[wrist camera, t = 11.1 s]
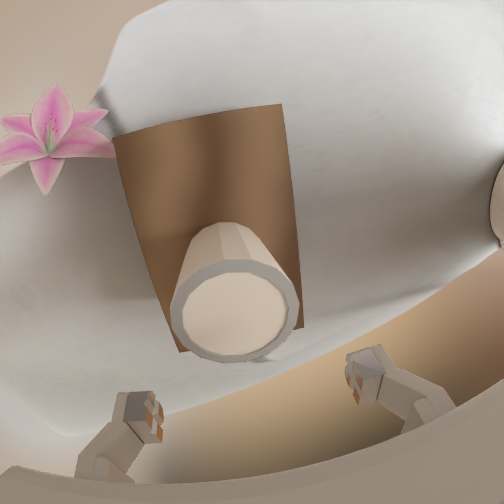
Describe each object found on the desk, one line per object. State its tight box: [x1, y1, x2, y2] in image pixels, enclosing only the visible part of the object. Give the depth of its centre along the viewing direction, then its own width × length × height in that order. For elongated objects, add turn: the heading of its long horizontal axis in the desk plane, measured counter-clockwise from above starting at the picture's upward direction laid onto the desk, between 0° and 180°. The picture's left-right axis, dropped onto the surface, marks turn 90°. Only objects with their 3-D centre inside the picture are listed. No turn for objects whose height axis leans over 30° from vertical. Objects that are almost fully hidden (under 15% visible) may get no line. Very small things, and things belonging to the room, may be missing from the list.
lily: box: [0, 84, 116, 196], centre depth 21 cm, size 12×12×10 cm
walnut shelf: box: [112, 104, 304, 353], centre depth 25 cm, size 11×18×9 cm, turn 8°
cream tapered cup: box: [170, 222, 300, 363], centre depth 19 cm, size 7×7×7 cm
